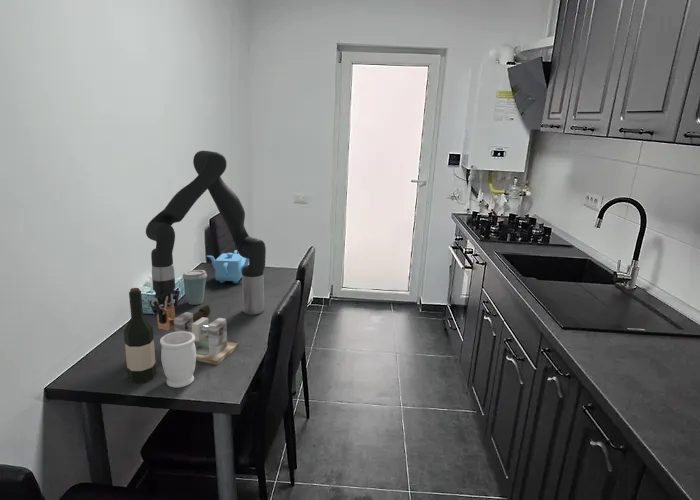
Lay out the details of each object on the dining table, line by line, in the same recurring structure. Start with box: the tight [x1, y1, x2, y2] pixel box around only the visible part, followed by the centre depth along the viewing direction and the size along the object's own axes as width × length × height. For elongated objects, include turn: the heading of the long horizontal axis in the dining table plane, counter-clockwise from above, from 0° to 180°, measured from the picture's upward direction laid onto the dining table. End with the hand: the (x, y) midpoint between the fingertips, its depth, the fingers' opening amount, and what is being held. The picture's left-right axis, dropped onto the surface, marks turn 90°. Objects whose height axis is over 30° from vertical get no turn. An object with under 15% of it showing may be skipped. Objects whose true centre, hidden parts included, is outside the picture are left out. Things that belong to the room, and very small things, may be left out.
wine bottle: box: [123, 287, 157, 383], centre depth 145 cm, size 8×8×30 cm
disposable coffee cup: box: [182, 269, 208, 306], centre depth 210 cm, size 11×11×15 cm
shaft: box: [156, 306, 208, 332], centre depth 166 cm, size 4×24×8 cm, turn 73°
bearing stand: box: [173, 311, 240, 366], centre depth 165 cm, size 14×22×12 cm, turn 73°
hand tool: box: [193, 305, 211, 323], centre depth 191 cm, size 19×4×5 cm, turn 158°
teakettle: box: [206, 249, 249, 284], centre depth 242 cm, size 19×19×15 cm
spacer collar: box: [192, 317, 210, 342], centre depth 165 cm, size 6×2×6 cm, turn 163°
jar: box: [159, 331, 197, 388], centre depth 145 cm, size 11×10×15 cm
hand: (166, 320), depth 169 cm, fingers closed on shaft, 3 cm apart
